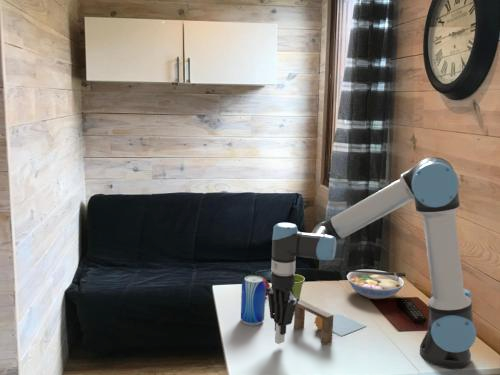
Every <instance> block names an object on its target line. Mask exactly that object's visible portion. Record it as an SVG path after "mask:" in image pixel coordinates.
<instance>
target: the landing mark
mask: <svg viewBox="0 0 500 375" xmlns="http://www.w3.org/2000/svg"><path fill="white" fill-rule="evenodd" d="M333 315H334V316H333V331H332V333H333V334H335V335H338V336H340V337H343V336H346V335H349V334H351V333H354V332H356V331H359V330H361V329H363V328H366V327H367V325H365V324H362V323H361V322H358V321H356V320H353V319H352V318H349V317H347V316H345V315H343V314H341V313H339V312H338V313H336V314H333ZM313 323H314V324H315V321H313Z"/></svg>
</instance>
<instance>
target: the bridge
mask: <svg viewBox="0 0 500 375" xmlns="http://www.w3.org/2000/svg"><path fill="white" fill-rule="evenodd" d="M306 312H308V313H310V314H311V315H314V316H315V317H316V316H318V317H320V318H322V330H321V338H320V343H321V344H323V345H324V346H327V345H329V344H331V343H333V332H332V331H333V316H334V315H335V314H332V313H330V312H328V311H326V310H324V309H321V308H319V307H318V306H315V305H313V304H311V303H309V302H306V301H305V300H303V299H299V301H298V303H297V304H296V307H295V311H294V315H293V321H294V322H293V329H294V330H297V331H299V330H302V329H305V315H306Z"/></svg>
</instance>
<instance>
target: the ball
mask: <svg viewBox="0 0 500 375" xmlns="http://www.w3.org/2000/svg"><path fill="white" fill-rule="evenodd" d="M314 322H315V323H314V325H315V327H316V328H317V329H319V330H320V331H322V318H320V317H318V316H316V315H315V318H314Z"/></svg>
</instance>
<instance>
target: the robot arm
mask: <svg viewBox="0 0 500 375" xmlns="http://www.w3.org/2000/svg"><path fill="white" fill-rule="evenodd" d="M459 197H460V196H459V177H458V175H457V173H456V171H455V168H453V166H452V165H451V163H450V162H449V161H448V160H446V159H444V158H442V157H438V156H431V157H426V158H425V159H422V160H420V161H419V162H418V163H417V164H415V165H414V166H412V167H411V168H410V169H408V170H407V171H405V172H403V173H401V174H400V177H399V179H398V180H395V181H394V182H392V183H390V184H388V185H387V186H386V187H383V188H382V189H380V190H378V191H377V192H375V193H373V194H371V195H369V196H367V197H366V198H365V199H364V198H363V199H362V200H360V201H359V202H357V203H355V204H354V205H352V206H350V207H348V208H346V209H345V210H343V211H342V212H339V213H338V214H336V215H334V216H332V217H331V218H329V219H327V220H326V221H325V220H324V221H321V222H319V223H318V224H316V225H315V227H313V229H312V231H311V232H302V231H299V230H298V226H297V225H296V223H291V222H279V223H276V224H275V225H274V226H273V229H272V230H273V231H272V238H271V240H272V242H271V243H272V245H271V268H270V271H271V272H270V284H271V286H270V288H266V291H267V294H268V295H267V297H268V307H269V315H270V316H269V317H270V319H271V320H272V319H273V321H274V331H275V332H274V333H275V335H274V342H275V343H276V344H277V345H281V344H282V343H285V340H286V339H285V338H286V337H285V336H286V334H287V326H288V325H291V324H292V323H293V320H294V315H295V307H296V304H297V303H298V301H300V299H298V298H295V297H294V296H293V290H292V287H293V285H294V283H295V272H296V262H297V261H296V260H297V259H296V258H297V257H300V258H301V257H302V258H307V259H308V258H309V259H312V260H313V259H315V260H320V261H333V260H334V259H335V256H336V251H337V242H339V241H340V240H342V239H344V238H346V237H348V236H350V235H351V234H354V233H355V232H357V231H359V230H361V229H363V228H364V227H366V226H369V225H370V224H372V223H373V222H375V221H378V220H379V219H382V218H383V217H385V216H387V215H388V214H390V213H392V212H393V211H396V210H398V209H400V208H402V207H403V206H405V205H406V204H408V203H410V202H413V201H414V205H415V212H417V213H418V214H420V216H421V217H422V223H423V224H422V225H423V230H424V240H425V246H426V247H425V248H426V253H427V254H426V255H427V262H428V270H429V278H430V285H431V293H430V296H431V297H430V298H429V299H428V300H427V301H428V302H427V304H428V312H429V315H428V325H427V331H426V333H425V334H424V336H423V339H422V340H421V343H420V345H419V354H420V357H421V358H422V359H424V360H425V361H426V362H428V363H429V364H431V365H435V366H437V367H441V368H445V369H450V370H451V369H452V370H455V369H456V370H458V369H464V368H467V367H468V366H469V365H470V364H471V360H472V359H471V358H472V355H471V351H470V348H471V347H473V345H474V344H475V342H476V340H477V329H476V326H475V321H474V313H473V305H472V301H473V298H472V292H471V291H470V290H469V289H466V288H465V286H464V285H465V284H464V277H463V270H462V268H463V267H462V262H461V261H462V260H461V252H460V244H459V238H458V228H457V222H456V212H457V211H458V210H459V208H461V205H460V198H459Z"/></svg>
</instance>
